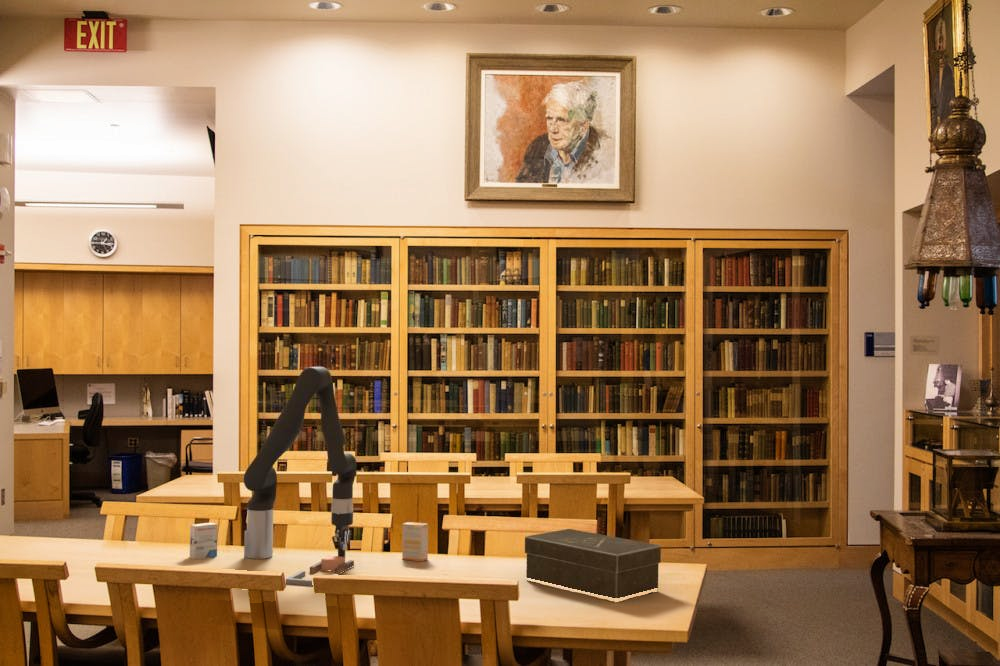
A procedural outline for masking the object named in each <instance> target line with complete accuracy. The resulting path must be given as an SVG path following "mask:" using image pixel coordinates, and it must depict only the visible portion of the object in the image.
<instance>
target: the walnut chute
mask: <svg viewBox="0 0 1000 666" xmlns="http://www.w3.org/2000/svg"><path fill="white" fill-rule="evenodd" d="M352 566H355V560H352V559H351V560H348V561H345V563H344V564H342V565H340V566H339V567H337V568H335V569H334V571H333V573H338V574H339V575H341V574H342V573H341V572H343V571H345V570H347V569H348V568H350V567H352ZM352 568H353V567H352ZM320 569H321V561H319V562H317V563H315V564H313V565H311V566H310V567H309V574H315V573H318V572H319V571H321V570H320ZM350 569H351V568H350ZM348 570H349V569H348ZM348 570H347V571H348ZM345 572H346V571H345ZM340 573H341V574H340ZM343 573H344V572H343Z"/></svg>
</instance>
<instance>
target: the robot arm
mask: <svg viewBox="0 0 1000 666" xmlns="http://www.w3.org/2000/svg"><path fill="white" fill-rule="evenodd" d="M315 395H316V396H317V398H318V402H319V406H320V407H319V408H320V427H321V432H322V435H323V438H324V443H325V444H326V453H327V455H326V456H327V463H328V466H329V469H330V471H331V472H332V473H334V475H337V478H336V480H335V481H334V482H333V484H332V500H331V512H330V513H331V521H330V522H331V525H332V526H335V528H334V529H335V530H334V535H333V536H331V540H332V542H333V546H334V549H335V550H337V556H339V557H345V558H346V550H347V547H349V543H350V541H351V536H352V530H350V526H351V525H354V500H353V499H354V498H353V493H354V491H353V490H354V489H353V488H354V487H353V486H354V481H355V478H356V474H357V466H358V465H357V460H356V457H355V456H354V455H353V454H352V453H350V452H345V449H344V446H345V445H346V444H347V439H346V438H347V437H346V436H345V433H344V429H343V427H342V423H341V419H340V415H339V412H338V411H339V410H338V408H337V407H338V406H337V402H336V397H335V396H336V395H335V390H334V383H333V378H332V374H331V372H330V371H329V370H328V368H326V367H324V366H308V367H305V369H303V370H302V371H301V373H299V376H298V378H297V380H296V383H295V385H294V387H293V389H292V392H291V395H289V398H288V400H287V402H286V403H285V405H284V407H283V409H282V411H281V412H280V414H279V416H278V417H277V419H276V420H275V423H274V424H273V426H272V427H271V430H270V432H269V434H268V435H267V436H266V439H265V440H264V443H263V444H262V446H261V448H260V450H259V451H258V452H257V454H256V456H255V457H254V459H253V460H252V462H251V463H250V465H248V467H247V468H246V470H245V472H244V475H243V485H244V487H245V488H246V489H247V490H248V491H250V492H253V494H252V496H251V498H250V499H249V500H248V501H247V505H246V507H247V508H246V509H247V512H246V514H247V515H246V517H247V518H246V530H244V541H243V543H244V545H243V547H244V548H243V549H244V551H243V557H244V558H247V559H252V560H253V559H254V560H255V559H256V560H259V559H262V560H263V559H269V558H272V557H273V556H274V555H273V553H274V550H273V547H274V543H273V542H274V505H275V501H276V498H277V486H278V485H277V484H278V475H277V471H276V469H275V467H274V466H275V464H276V462H277V461H278V460H279V458H280V457H281V456H283V455H284V454H285V453H286V452H287V451H288V450H289V448H291V447H292V445H293V444H294V443H295V441H296V440H297V438H298V436H299V434H300V433H301V431H302V429H303V426H304V422H305V414H306V410H307V407H308V405H309V403H310V402H311V400H312V399H313V397H314V396H315Z"/></svg>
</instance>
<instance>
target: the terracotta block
mask: <svg viewBox="0 0 1000 666" xmlns="http://www.w3.org/2000/svg"><path fill="white" fill-rule="evenodd" d="M320 562H321V570H320V571H324V570H331V571H330V572H334V569H335V568H337V567H339V566H340V565H342V564H344V563H346V556H345V557H339V556H338V555H328V556H326V557H323V558H321V561H320Z"/></svg>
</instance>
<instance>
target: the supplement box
mask: <svg viewBox="0 0 1000 666" xmlns="http://www.w3.org/2000/svg"><path fill="white" fill-rule="evenodd" d="M428 531H429V523H427V522H426V523H424V522H414V521H407V522H403V523H402V550H401V551H402V557H401V558H402V560H406V561H415V562H425V561H426V560H428V557H429V554H428V551H429V550H428V546H429V545H428V544H429V542H428V539H429V538H428V537H429V535H428V534H429V533H428Z"/></svg>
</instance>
